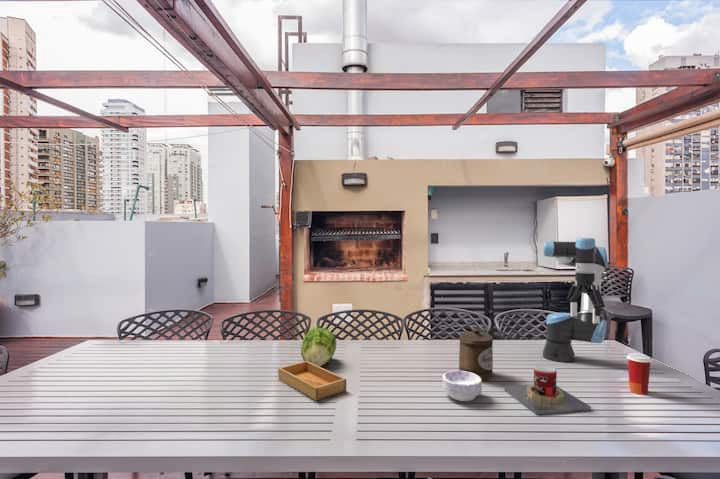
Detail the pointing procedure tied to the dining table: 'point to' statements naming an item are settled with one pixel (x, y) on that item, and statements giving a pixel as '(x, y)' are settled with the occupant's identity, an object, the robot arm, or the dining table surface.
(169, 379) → the dining table surface
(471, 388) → the paper bowls
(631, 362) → the coffee cup
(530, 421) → the dining table surface
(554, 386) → the canned food
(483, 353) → the wooden container
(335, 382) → the tray
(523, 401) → the collar plate
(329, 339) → the lettuce
